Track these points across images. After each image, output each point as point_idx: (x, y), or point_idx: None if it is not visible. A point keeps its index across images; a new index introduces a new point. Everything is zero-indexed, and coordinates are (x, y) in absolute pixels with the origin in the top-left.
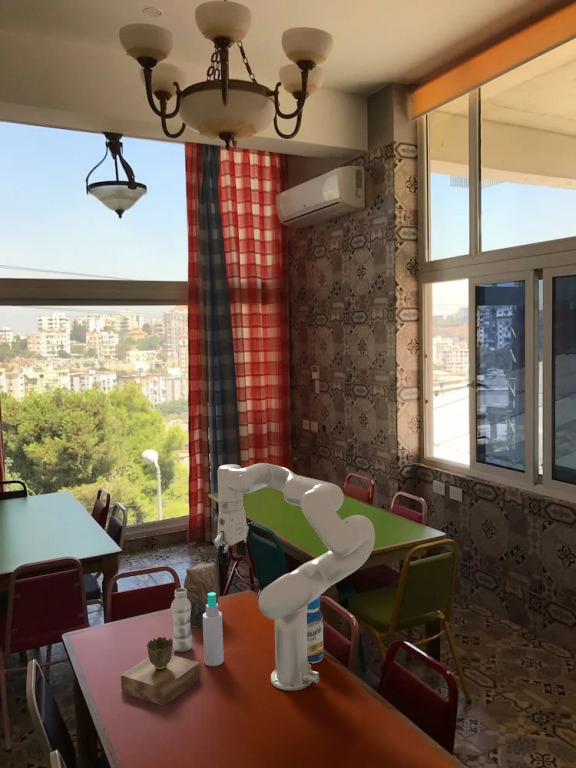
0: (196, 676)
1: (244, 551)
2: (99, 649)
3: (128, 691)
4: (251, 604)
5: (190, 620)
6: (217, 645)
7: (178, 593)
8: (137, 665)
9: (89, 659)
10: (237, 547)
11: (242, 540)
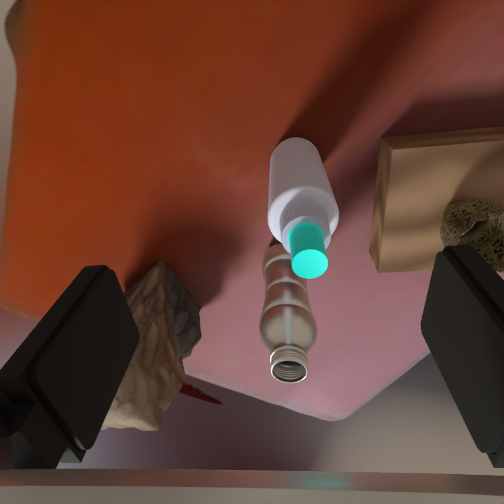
0: (396, 139)
1: (89, 296)
2: (359, 366)
3: None
4: (28, 266)
5: (195, 312)
6: (310, 155)
7: (307, 365)
8: None
9: (396, 358)
10: (109, 391)
11: (5, 448)
